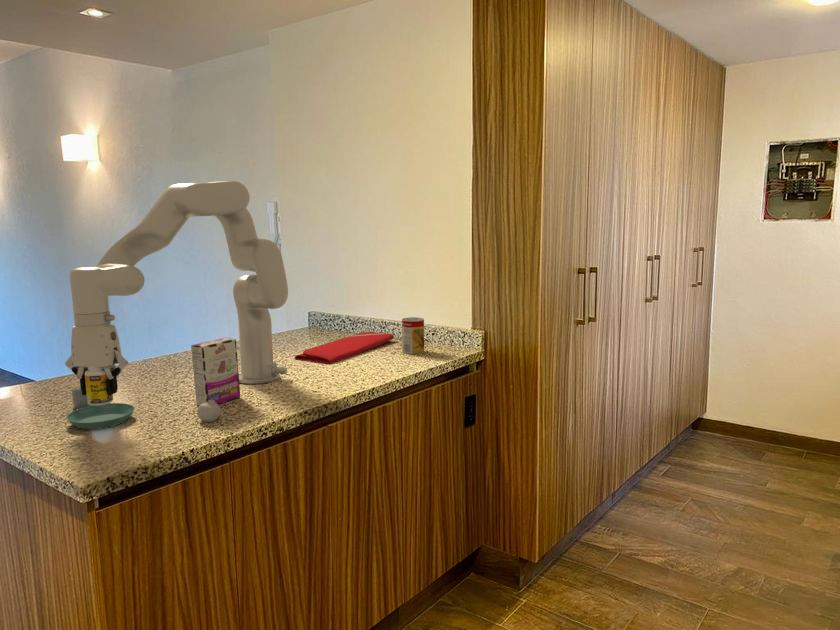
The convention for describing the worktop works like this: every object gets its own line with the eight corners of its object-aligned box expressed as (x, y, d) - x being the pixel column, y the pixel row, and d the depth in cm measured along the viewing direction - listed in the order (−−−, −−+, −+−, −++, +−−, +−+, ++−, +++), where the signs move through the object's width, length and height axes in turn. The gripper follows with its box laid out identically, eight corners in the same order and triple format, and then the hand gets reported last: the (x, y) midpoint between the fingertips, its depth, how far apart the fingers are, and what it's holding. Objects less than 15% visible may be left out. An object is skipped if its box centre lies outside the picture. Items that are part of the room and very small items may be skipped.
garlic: (226, 420, 150) (225, 399, 149) (205, 426, 146) (204, 404, 145) (213, 415, 153) (212, 394, 153) (193, 420, 149) (191, 399, 149)
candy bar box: (228, 395, 171) (224, 336, 168) (241, 397, 168) (237, 338, 165) (194, 405, 161) (190, 344, 159) (207, 408, 159) (203, 346, 156)
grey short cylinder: (109, 402, 165) (107, 384, 165) (93, 410, 158) (91, 391, 158) (84, 401, 166) (82, 383, 165) (67, 410, 159) (65, 391, 158)
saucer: (59, 436, 141) (58, 425, 140) (76, 416, 155) (75, 405, 154) (129, 429, 144) (129, 418, 144) (140, 410, 159) (139, 400, 158)
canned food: (428, 351, 222) (428, 318, 220) (416, 355, 216) (416, 321, 214) (410, 348, 226) (409, 316, 224) (398, 353, 220) (397, 319, 218)
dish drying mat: (293, 360, 212) (293, 350, 212) (362, 339, 247) (361, 330, 247) (330, 365, 204) (329, 354, 204) (395, 343, 240) (395, 333, 239)
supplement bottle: (88, 408, 145) (84, 365, 143) (86, 402, 150) (82, 361, 148) (115, 404, 148) (111, 362, 146) (111, 398, 153) (107, 358, 151)
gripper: (135, 317, 149) (142, 389, 151) (67, 317, 150) (75, 389, 153) (118, 322, 141) (125, 398, 144) (47, 322, 142) (55, 398, 145)
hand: (99, 393), depth 148 cm, fingers closed on supplement bottle, 5 cm apart
